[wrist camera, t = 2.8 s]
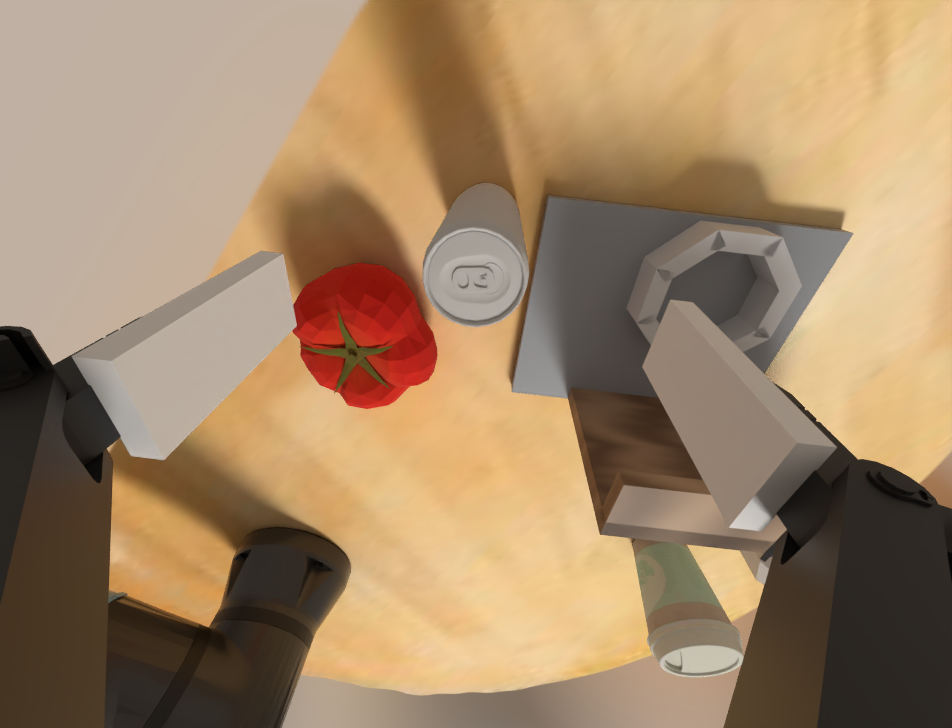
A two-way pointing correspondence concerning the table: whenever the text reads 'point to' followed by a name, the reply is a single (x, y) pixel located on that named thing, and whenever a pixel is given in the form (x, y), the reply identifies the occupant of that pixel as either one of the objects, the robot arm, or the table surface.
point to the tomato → (364, 334)
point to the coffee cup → (684, 613)
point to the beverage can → (478, 258)
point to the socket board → (658, 288)
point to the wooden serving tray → (650, 476)
